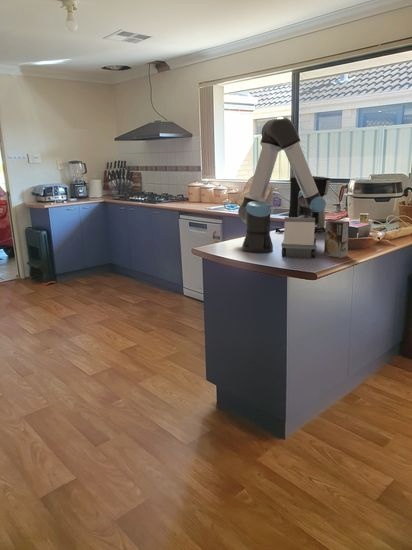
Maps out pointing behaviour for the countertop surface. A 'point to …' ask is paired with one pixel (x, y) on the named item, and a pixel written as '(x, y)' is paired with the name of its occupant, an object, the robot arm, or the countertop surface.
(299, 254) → the bed
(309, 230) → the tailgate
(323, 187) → the coffee maker
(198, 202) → the countertop surface
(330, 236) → the coffee box
